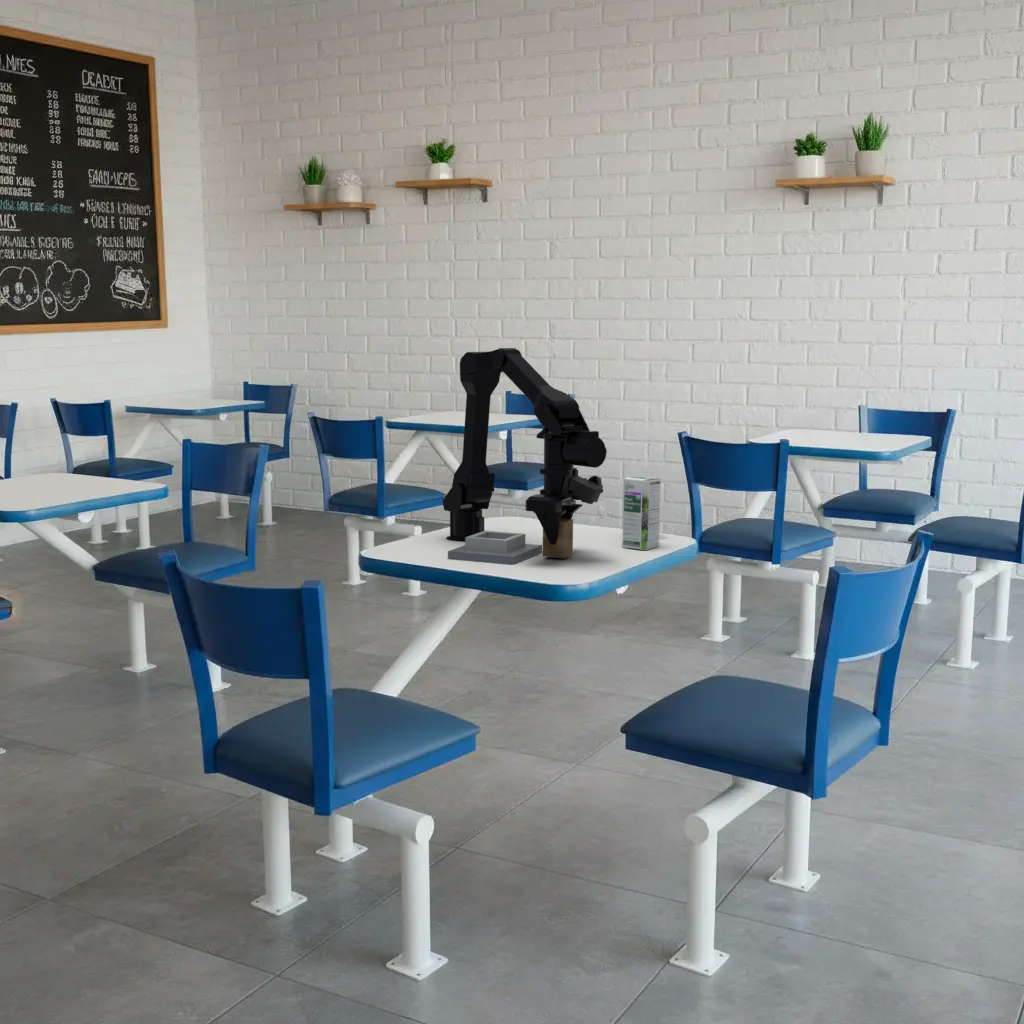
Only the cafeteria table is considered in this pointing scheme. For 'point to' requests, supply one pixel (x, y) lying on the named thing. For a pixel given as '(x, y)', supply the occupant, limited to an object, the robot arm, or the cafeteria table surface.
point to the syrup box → (641, 512)
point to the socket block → (495, 548)
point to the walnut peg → (560, 541)
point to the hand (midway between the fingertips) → (557, 542)
